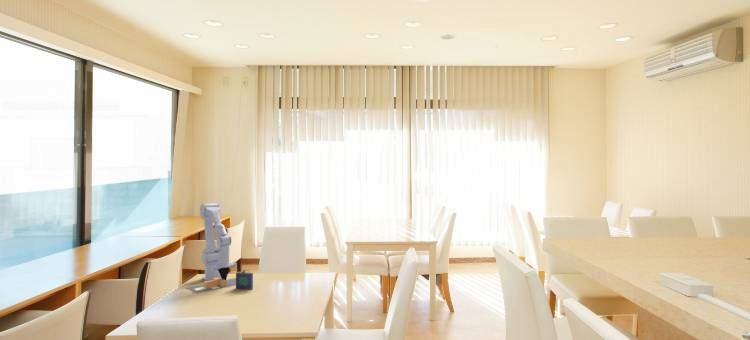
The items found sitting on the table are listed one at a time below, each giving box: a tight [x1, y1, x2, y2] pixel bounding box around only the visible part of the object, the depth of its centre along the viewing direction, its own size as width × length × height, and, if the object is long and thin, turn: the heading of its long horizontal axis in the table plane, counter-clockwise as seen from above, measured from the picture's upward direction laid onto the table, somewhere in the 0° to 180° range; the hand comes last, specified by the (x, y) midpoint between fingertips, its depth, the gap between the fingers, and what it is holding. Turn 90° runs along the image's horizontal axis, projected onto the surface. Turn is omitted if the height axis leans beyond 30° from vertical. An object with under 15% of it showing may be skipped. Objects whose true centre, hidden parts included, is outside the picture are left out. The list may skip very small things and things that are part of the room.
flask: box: [235, 269, 254, 291], centre depth 246 cm, size 9×3×11 cm, turn 88°
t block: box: [203, 277, 228, 288], centre depth 250 cm, size 10×10×3 cm
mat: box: [185, 277, 236, 294], centre depth 252 cm, size 31×14×1 cm, turn 136°
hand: (223, 281), depth 255 cm, fingers closed
